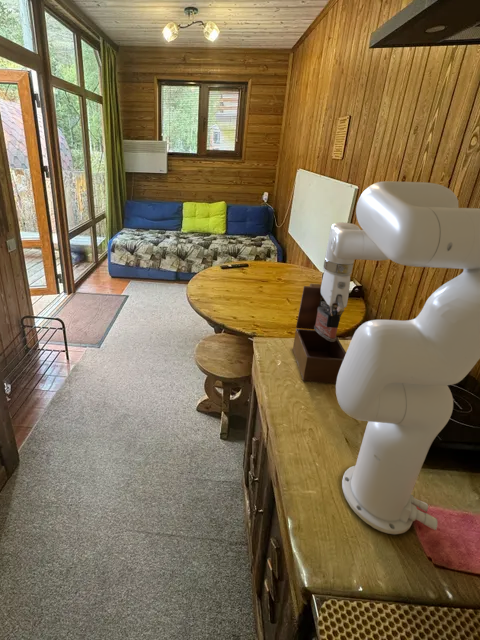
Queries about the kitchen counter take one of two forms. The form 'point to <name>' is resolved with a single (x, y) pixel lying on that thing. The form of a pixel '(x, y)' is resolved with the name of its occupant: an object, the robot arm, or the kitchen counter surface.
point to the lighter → (321, 323)
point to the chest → (317, 356)
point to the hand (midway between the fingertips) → (327, 319)
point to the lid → (309, 306)
